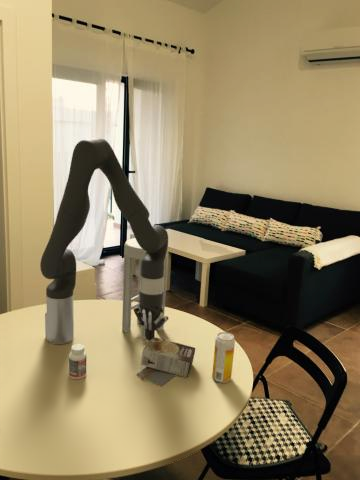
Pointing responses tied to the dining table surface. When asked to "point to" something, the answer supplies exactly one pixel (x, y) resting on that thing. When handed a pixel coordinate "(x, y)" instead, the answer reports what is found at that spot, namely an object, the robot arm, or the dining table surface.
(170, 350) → the coffee box
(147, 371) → the kerb
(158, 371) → the mat
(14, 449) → the dining table surface
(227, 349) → the beer can
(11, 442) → the dining table surface
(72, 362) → the pill bottle
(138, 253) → the stool
